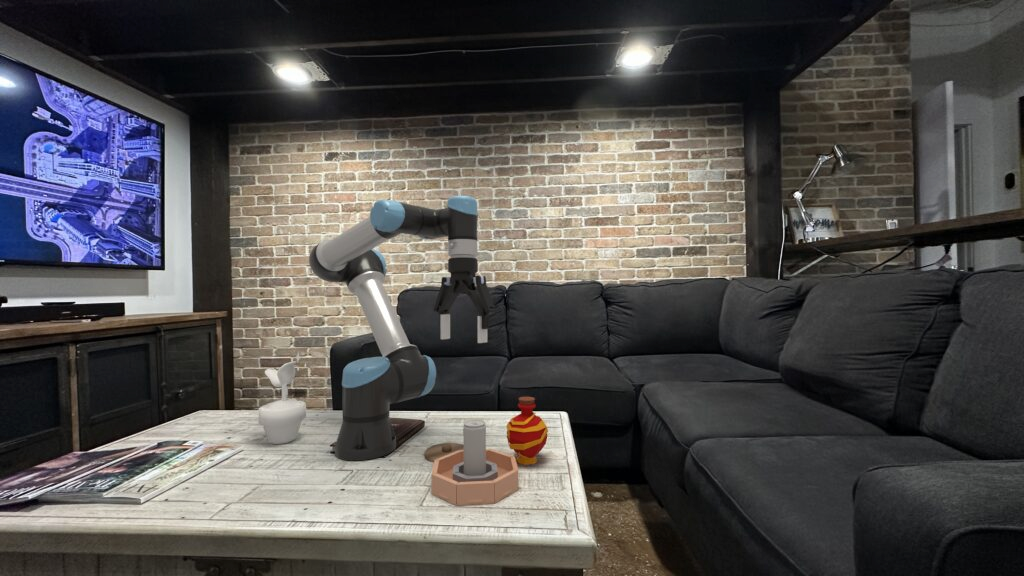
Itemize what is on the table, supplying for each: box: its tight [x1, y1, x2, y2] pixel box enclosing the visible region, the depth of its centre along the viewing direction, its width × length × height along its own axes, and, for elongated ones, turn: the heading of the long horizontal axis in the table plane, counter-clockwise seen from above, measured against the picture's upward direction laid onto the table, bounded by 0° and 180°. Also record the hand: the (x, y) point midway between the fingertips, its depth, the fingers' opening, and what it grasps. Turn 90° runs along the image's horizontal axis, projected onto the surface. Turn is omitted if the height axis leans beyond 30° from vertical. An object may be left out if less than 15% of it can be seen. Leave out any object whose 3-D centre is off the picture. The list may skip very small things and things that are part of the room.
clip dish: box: [431, 448, 519, 506], centre depth 89 cm, size 18×18×4 cm
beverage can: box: [462, 419, 487, 476], centre depth 89 cm, size 5×5×12 cm
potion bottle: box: [506, 396, 549, 466], centre depth 102 cm, size 10×10×15 cm
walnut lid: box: [424, 442, 463, 464], centre depth 105 cm, size 11×11×3 cm
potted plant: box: [258, 352, 308, 445], centre depth 116 cm, size 13×12×25 cm
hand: (463, 340), depth 106 cm, fingers open, 13 cm apart
